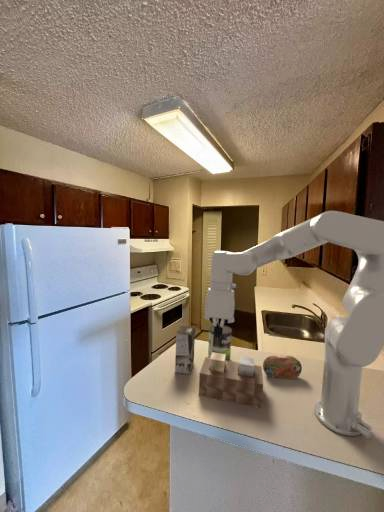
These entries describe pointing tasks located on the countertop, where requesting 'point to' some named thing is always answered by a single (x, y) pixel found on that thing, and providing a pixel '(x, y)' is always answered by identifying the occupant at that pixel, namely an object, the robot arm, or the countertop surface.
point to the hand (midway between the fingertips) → (217, 336)
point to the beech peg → (217, 362)
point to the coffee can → (220, 342)
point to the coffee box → (184, 349)
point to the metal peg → (246, 367)
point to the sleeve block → (231, 384)
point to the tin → (282, 367)
